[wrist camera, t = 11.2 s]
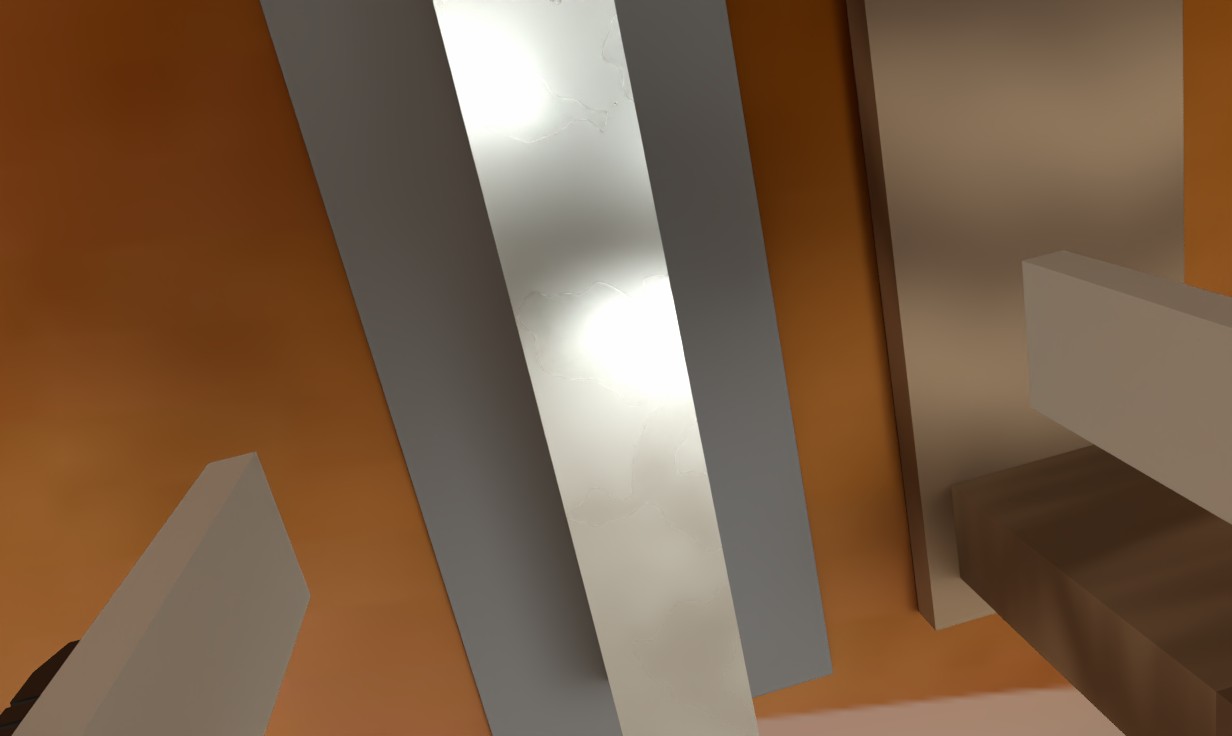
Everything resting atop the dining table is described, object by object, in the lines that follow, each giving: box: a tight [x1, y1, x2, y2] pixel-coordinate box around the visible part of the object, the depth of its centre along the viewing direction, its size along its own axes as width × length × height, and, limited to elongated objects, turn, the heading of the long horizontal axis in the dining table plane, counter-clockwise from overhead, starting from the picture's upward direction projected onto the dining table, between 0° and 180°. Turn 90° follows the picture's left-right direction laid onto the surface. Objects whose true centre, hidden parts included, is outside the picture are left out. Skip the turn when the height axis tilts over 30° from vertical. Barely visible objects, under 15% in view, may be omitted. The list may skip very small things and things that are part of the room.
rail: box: [433, 0, 759, 736], centre depth 20 cm, size 20×3×5 cm, turn 12°
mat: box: [260, 0, 833, 736], centre depth 22 cm, size 24×10×1 cm, turn 12°
